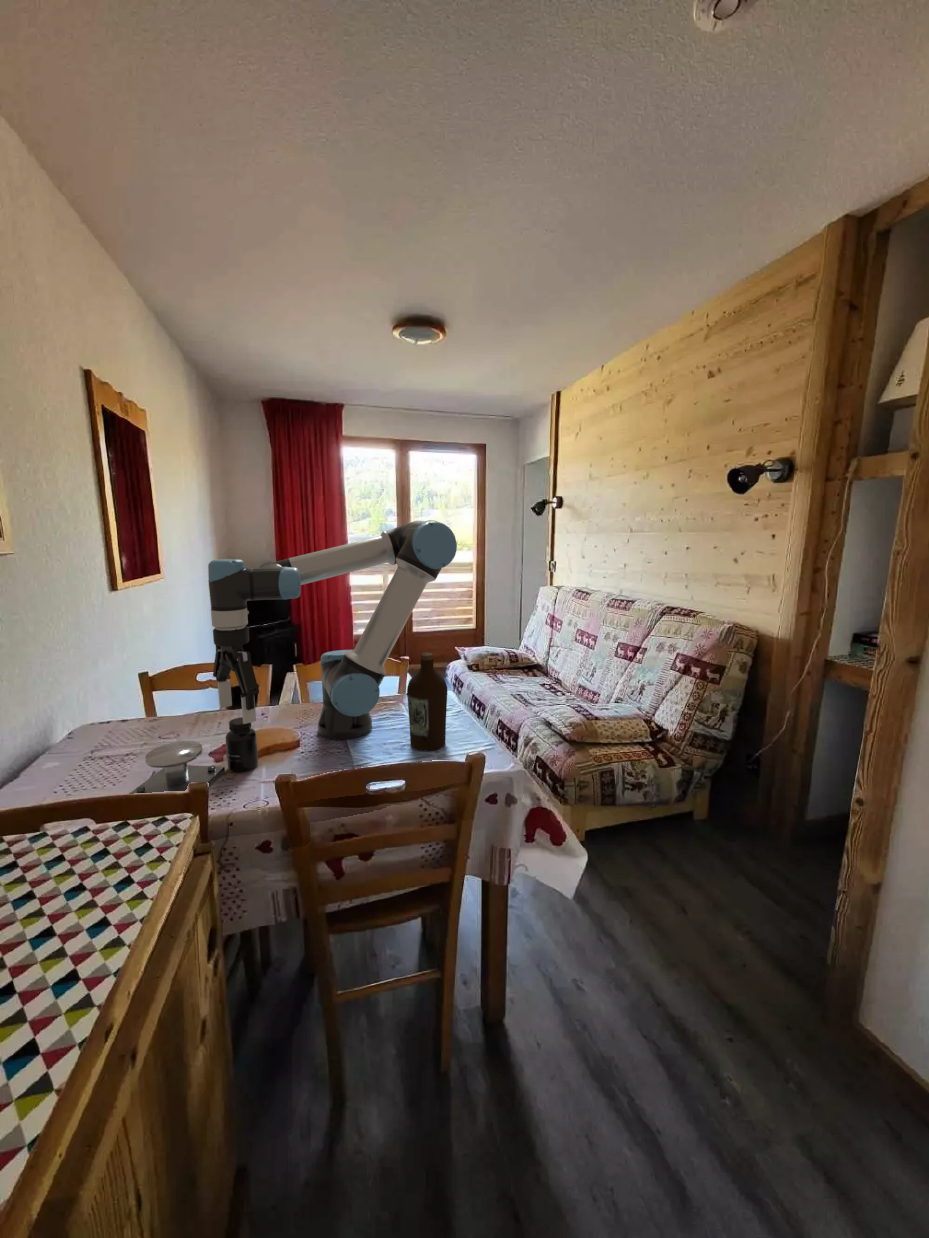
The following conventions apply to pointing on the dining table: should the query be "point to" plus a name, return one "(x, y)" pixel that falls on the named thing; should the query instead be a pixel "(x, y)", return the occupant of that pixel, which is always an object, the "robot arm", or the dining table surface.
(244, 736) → the supplement bottle
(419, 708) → the olive oil
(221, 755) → the dining table surface
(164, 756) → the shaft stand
